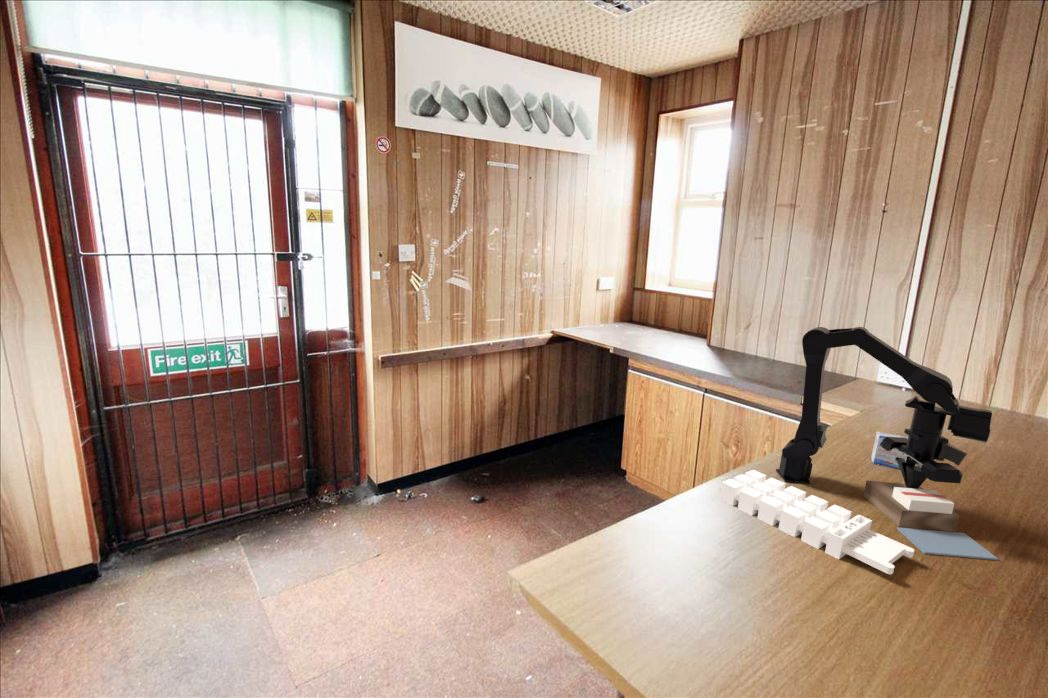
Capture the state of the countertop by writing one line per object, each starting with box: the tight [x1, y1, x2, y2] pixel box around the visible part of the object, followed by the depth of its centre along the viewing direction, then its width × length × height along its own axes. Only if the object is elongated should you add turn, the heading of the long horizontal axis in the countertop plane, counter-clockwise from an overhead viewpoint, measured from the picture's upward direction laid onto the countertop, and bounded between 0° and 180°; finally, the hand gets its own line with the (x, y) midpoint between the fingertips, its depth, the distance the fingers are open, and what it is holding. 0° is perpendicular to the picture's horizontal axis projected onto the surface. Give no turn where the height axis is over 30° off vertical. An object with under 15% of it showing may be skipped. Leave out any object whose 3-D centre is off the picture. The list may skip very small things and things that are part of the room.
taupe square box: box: [862, 480, 961, 532], centre depth 120 cm, size 12×14×4 cm
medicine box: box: [870, 431, 908, 470], centre depth 146 cm, size 8×4×9 cm, turn 62°
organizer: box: [719, 469, 915, 575], centre depth 112 cm, size 13×5×35 cm
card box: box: [892, 487, 955, 514], centre depth 116 cm, size 9×6×3 cm, turn 86°
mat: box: [896, 526, 999, 561], centre depth 109 cm, size 14×9×1 cm, turn 86°
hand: (911, 492), depth 120 cm, fingers closed
